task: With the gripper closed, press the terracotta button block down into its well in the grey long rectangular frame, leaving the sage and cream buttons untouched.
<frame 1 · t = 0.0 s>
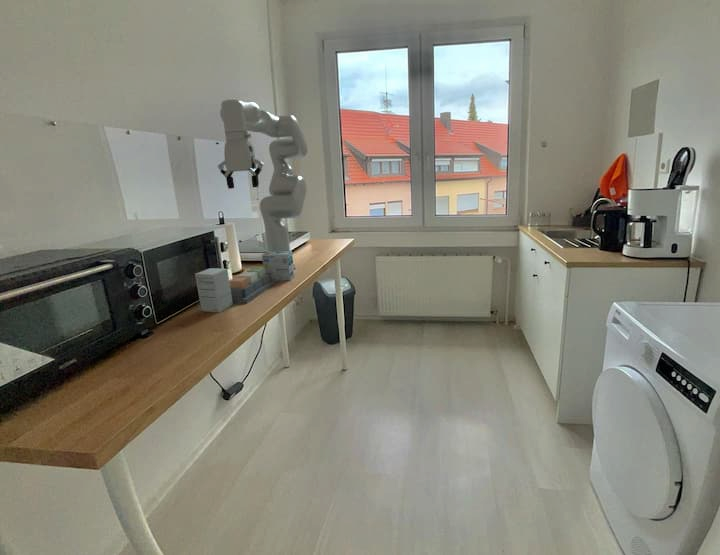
hand: (243, 187, 154), 37 cm above the worktop, tool pointing down, fingers open, 9 cm apart
light bulb box: (280, 279, 170), on the worktop
grey long rectangular frame: (250, 292, 154), on the worktop
supplement box: (217, 308, 139), on the worktop
cream button: (248, 279, 153), point 5 cm above the worktop, slide at 0.0 cm
terracotta button: (238, 284, 147), point 5 cm above the worktop, slide at 0.0 cm
sage button: (256, 274, 160), point 5 cm above the worktop, slide at 0.0 cm
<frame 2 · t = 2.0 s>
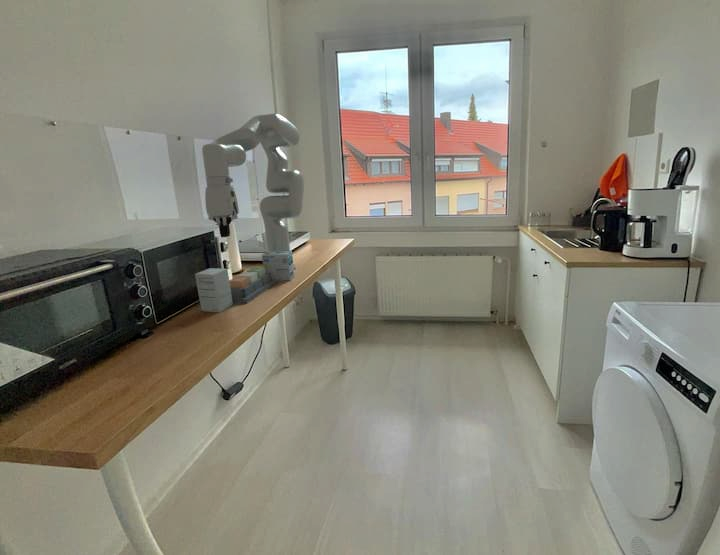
hand: (225, 236, 147), 21 cm above the worktop, tool pointing down, fingers closed
nothing on the worktop moved.
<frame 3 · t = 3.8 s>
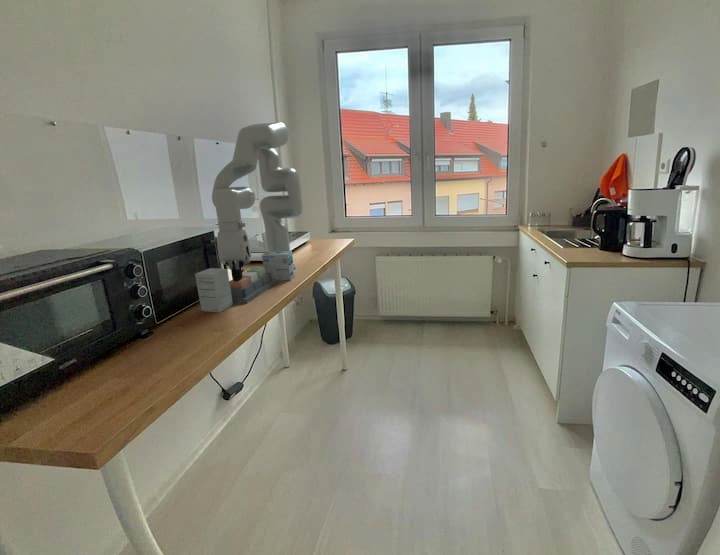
hand: (237, 280, 146), 7 cm above the worktop, tool pointing down, fingers closed
terracotta button: (239, 285, 147), point 5 cm above the worktop, slide at 0.2 cm, touching gripper
everything else where it was.
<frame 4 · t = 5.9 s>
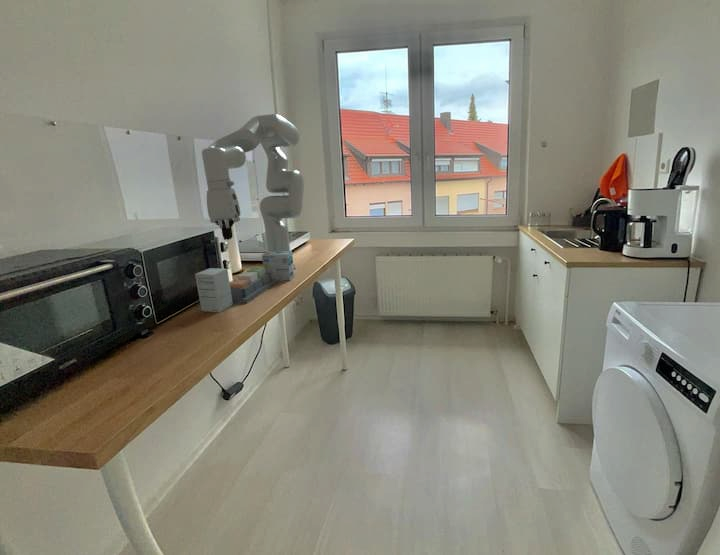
hand: (228, 238, 149), 20 cm above the worktop, tool pointing down, fingers closed
terracotta button: (239, 287, 147), point 4 cm above the worktop, slide at 0.9 cm
everything else where it was.
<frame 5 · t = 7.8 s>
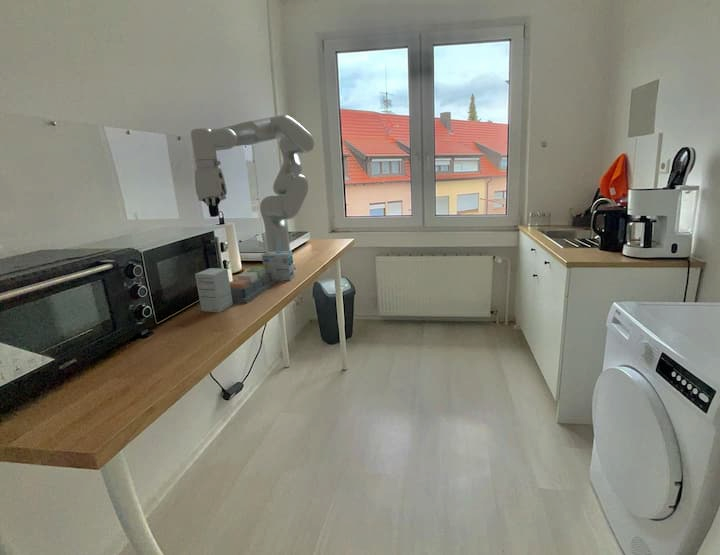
hand: (214, 216, 157), 27 cm above the worktop, tool pointing down, fingers closed
nothing on the worktop moved.
at the end: terracotta button slide at 0.9 cm; sage button slide at 0.0 cm; cream button slide at 0.0 cm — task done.
